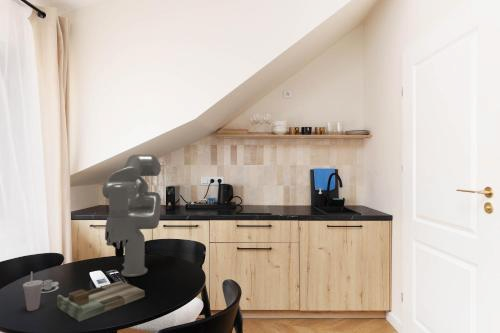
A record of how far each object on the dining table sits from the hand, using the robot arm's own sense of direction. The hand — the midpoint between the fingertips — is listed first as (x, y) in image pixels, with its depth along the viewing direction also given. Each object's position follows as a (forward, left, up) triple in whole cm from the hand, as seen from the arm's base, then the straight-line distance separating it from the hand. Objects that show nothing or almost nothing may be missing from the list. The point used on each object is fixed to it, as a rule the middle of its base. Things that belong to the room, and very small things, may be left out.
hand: (119, 256), depth 130 cm
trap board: (+1, -8, -16) cm, 18 cm away
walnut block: (+1, -17, -14) cm, 22 cm away
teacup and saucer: (-29, -13, -17) cm, 36 cm away
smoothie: (-14, -27, -16) cm, 34 cm away
